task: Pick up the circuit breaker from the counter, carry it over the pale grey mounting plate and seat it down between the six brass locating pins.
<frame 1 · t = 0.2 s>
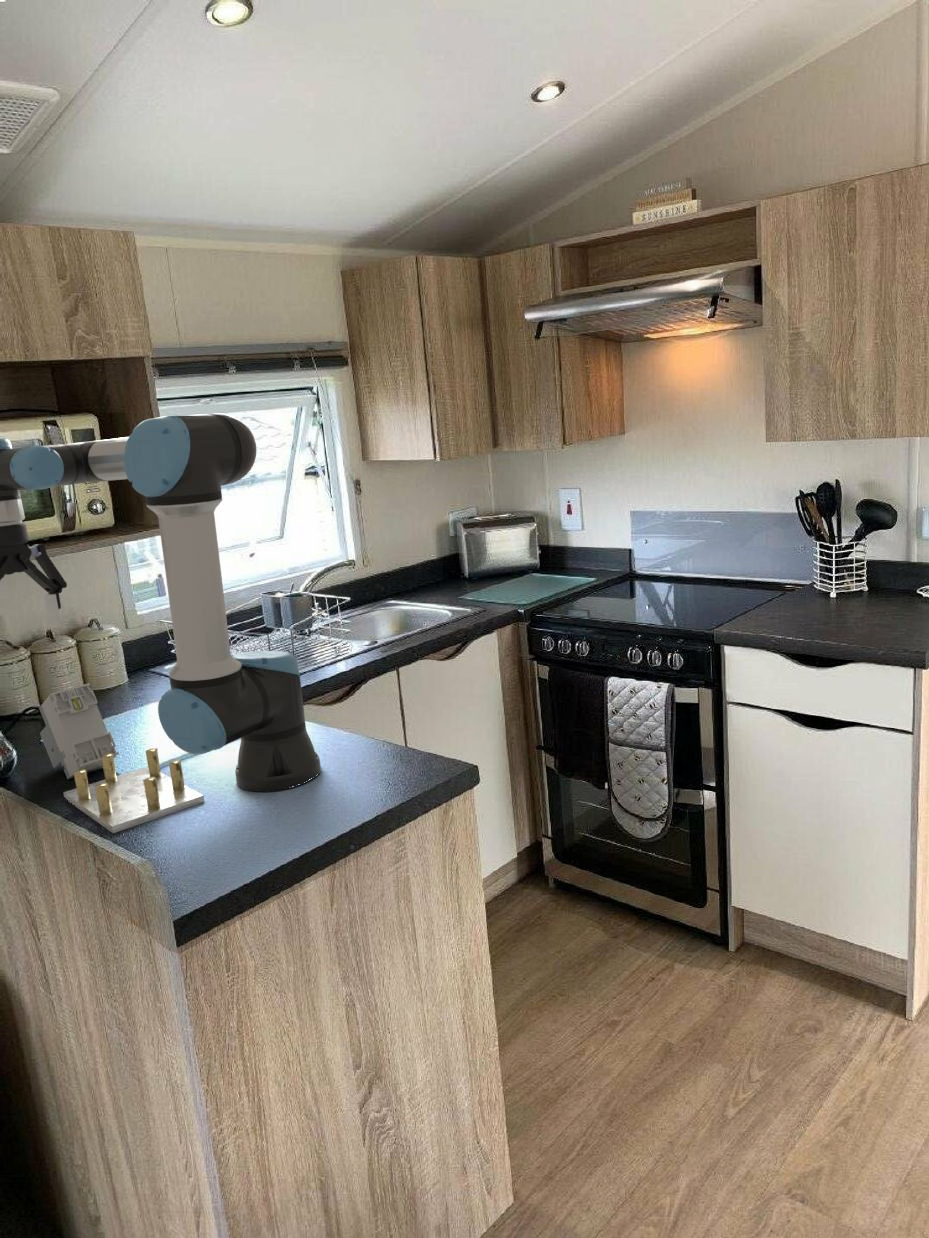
hand: (24, 635, 183), 27 cm above the worktop, tool pointing down, fingers open, 13 cm apart
circuit breaker: (88, 772, 185), on the worktop
mounting plate: (133, 800, 170), on the worktop
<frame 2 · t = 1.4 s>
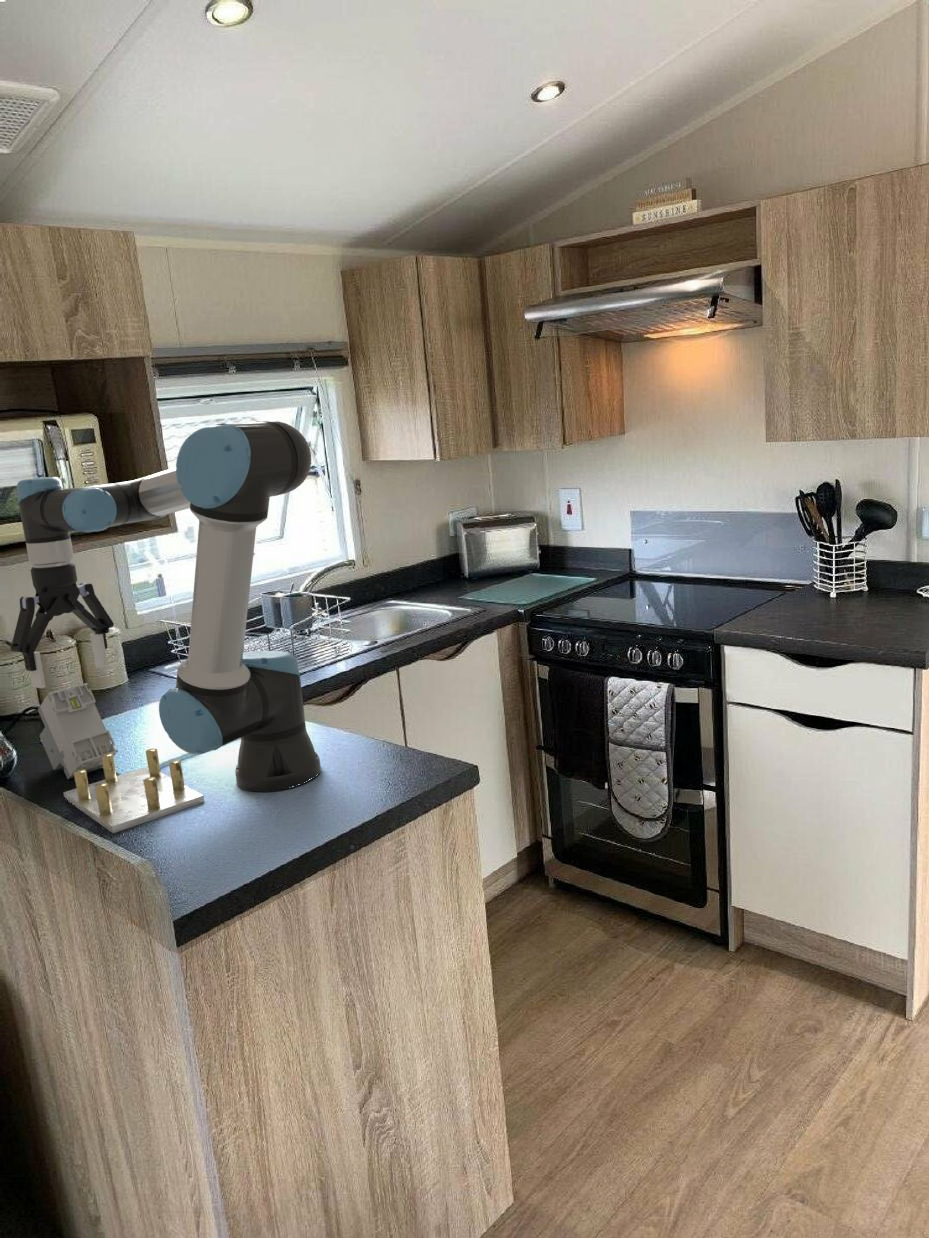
hand: (71, 677, 179), 20 cm above the worktop, tool pointing down, fingers open, 13 cm apart
nothing on the worktop moved.
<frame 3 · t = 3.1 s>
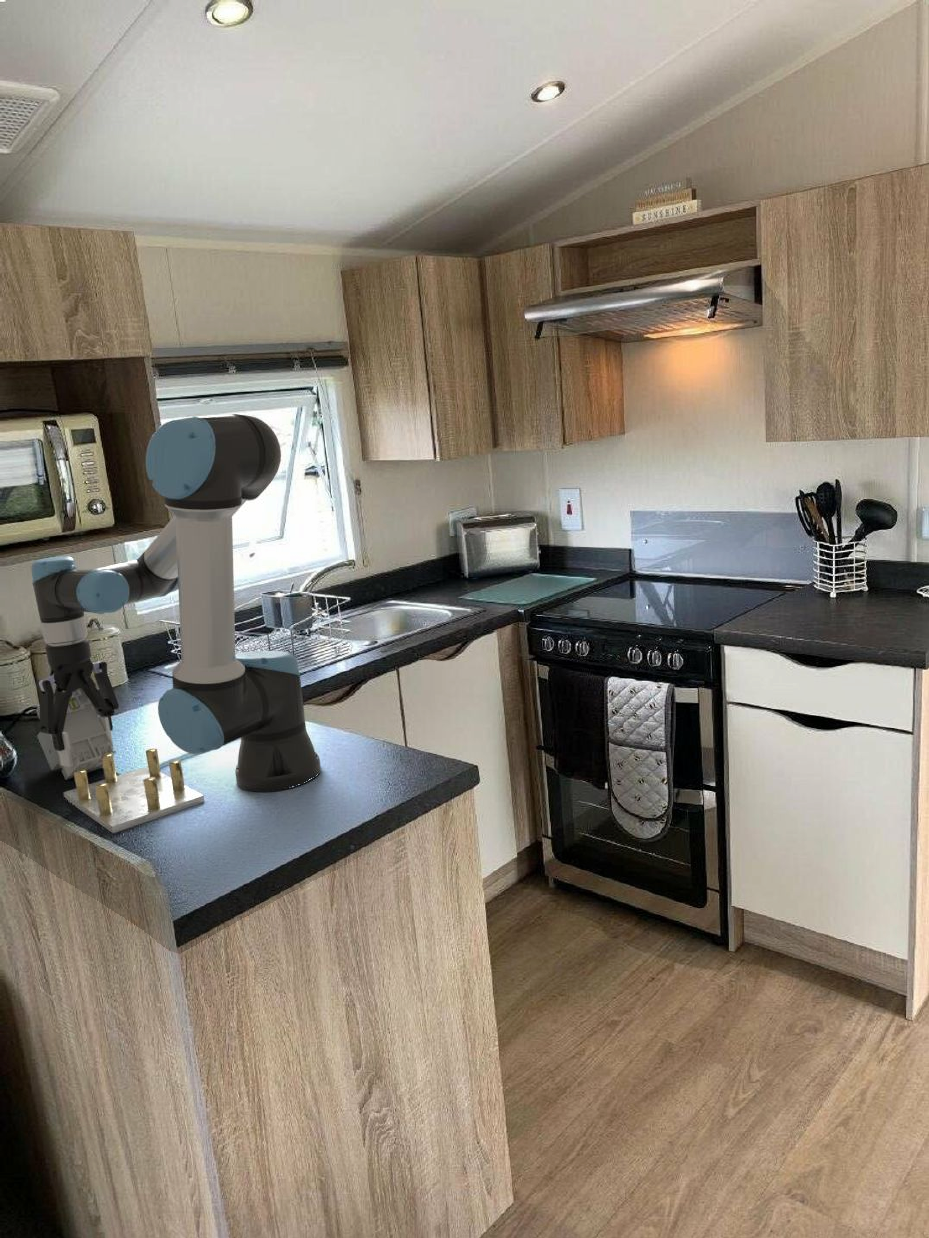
hand: (87, 756, 183), 4 cm above the worktop, tool pointing down, fingers closed on circuit breaker, 8 cm apart
circuit breaker: (86, 772, 185), on the worktop, touching gripper
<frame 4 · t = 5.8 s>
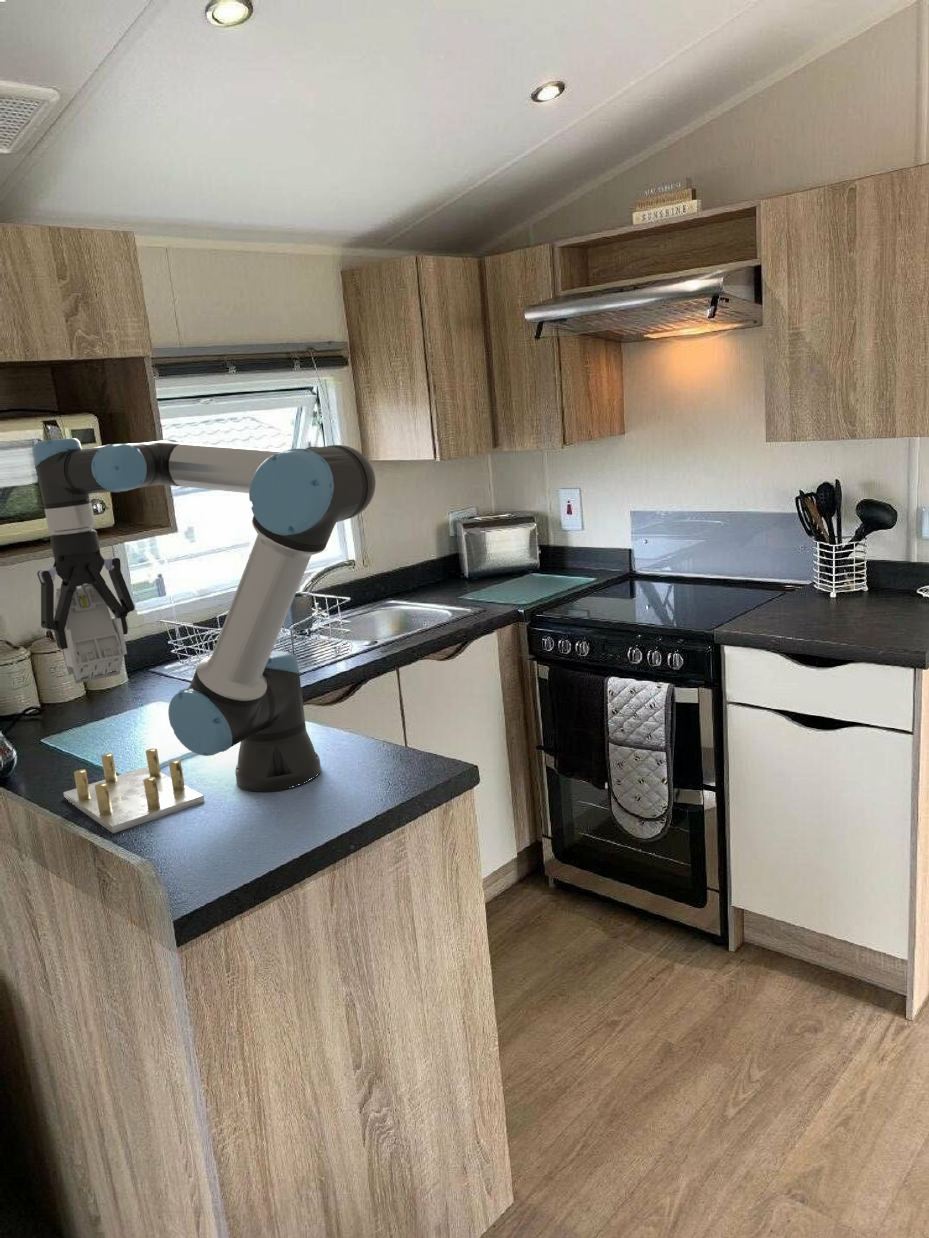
hand: (97, 659, 169), 25 cm above the worktop, tool pointing down, fingers closed on circuit breaker, 8 cm apart
circuit breaker: (98, 677, 171), point 21 cm above the worktop, touching gripper
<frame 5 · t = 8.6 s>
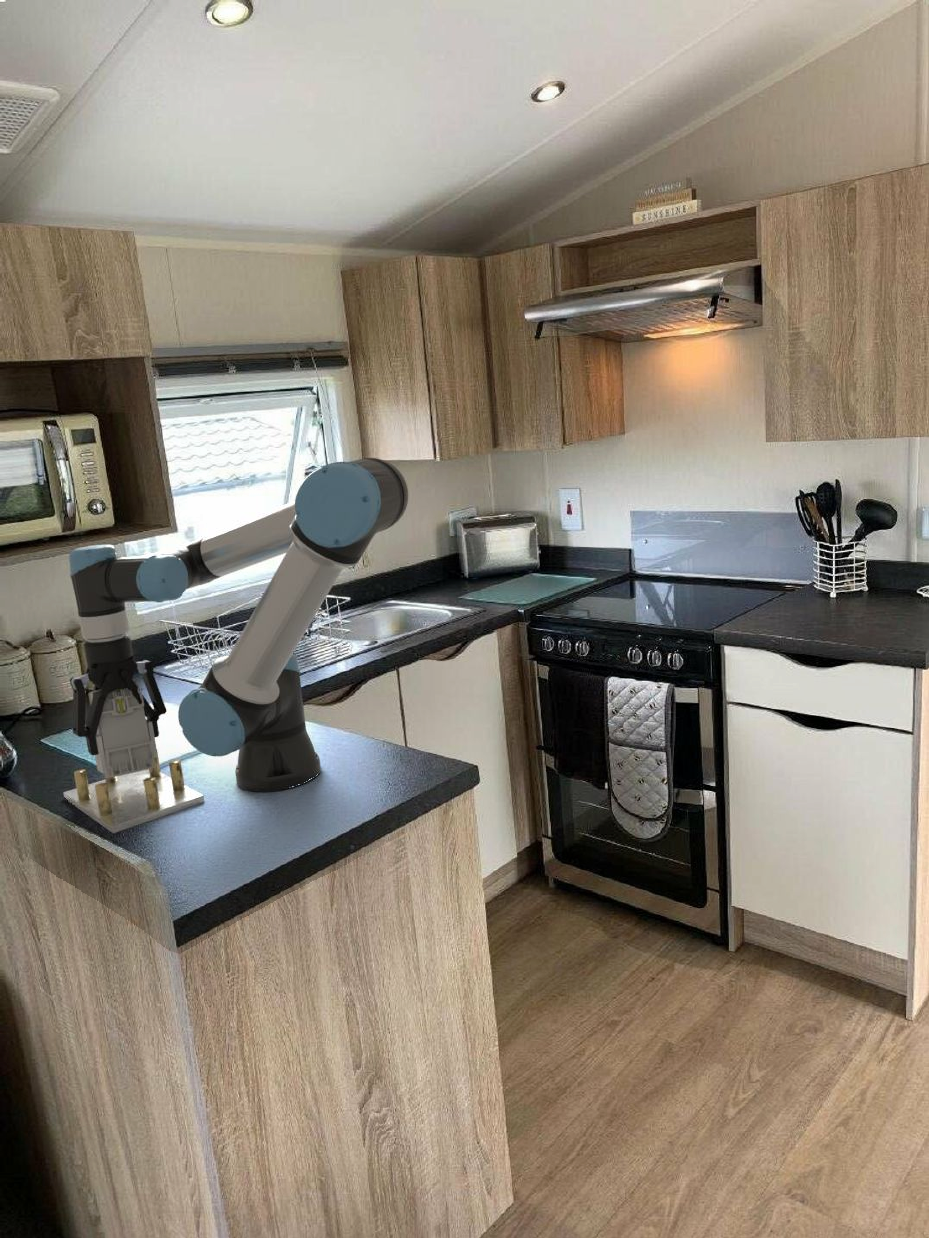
hand: (128, 763, 168), 7 cm above the worktop, tool pointing down, fingers closed on circuit breaker, 8 cm apart
circuit breaker: (126, 773, 171), point 4 cm above the worktop, touching gripper, mounting plate
when the fingers open (7 cm above the worktop, at t = 9.0 s): circuit breaker drops 3 cm, resting on mounting plate.
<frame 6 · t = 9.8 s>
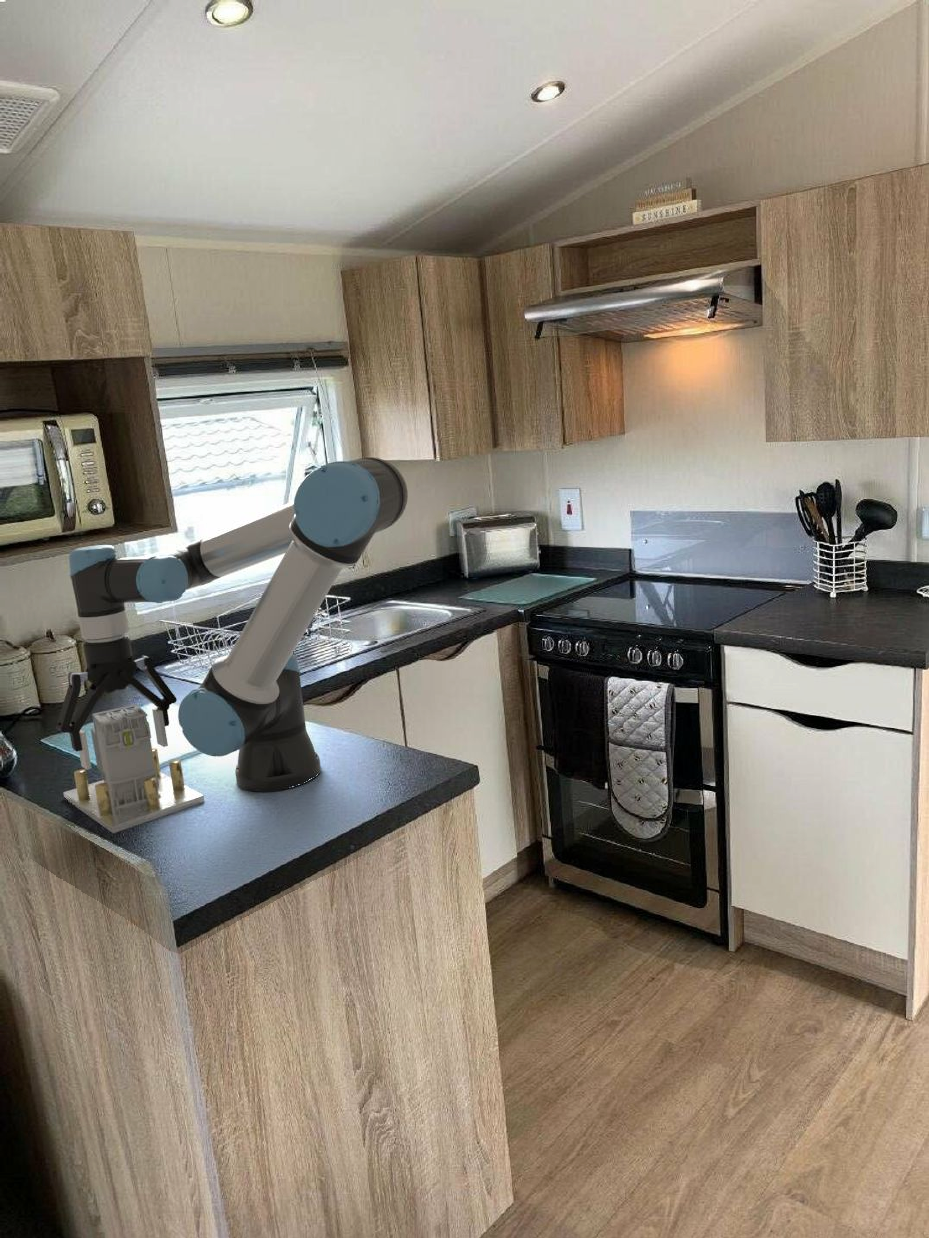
hand: (125, 756, 168), 8 cm above the worktop, tool pointing down, fingers open, 13 cm apart
circuit breaker: (129, 791, 171), point 1 cm above the worktop, touching mounting plate
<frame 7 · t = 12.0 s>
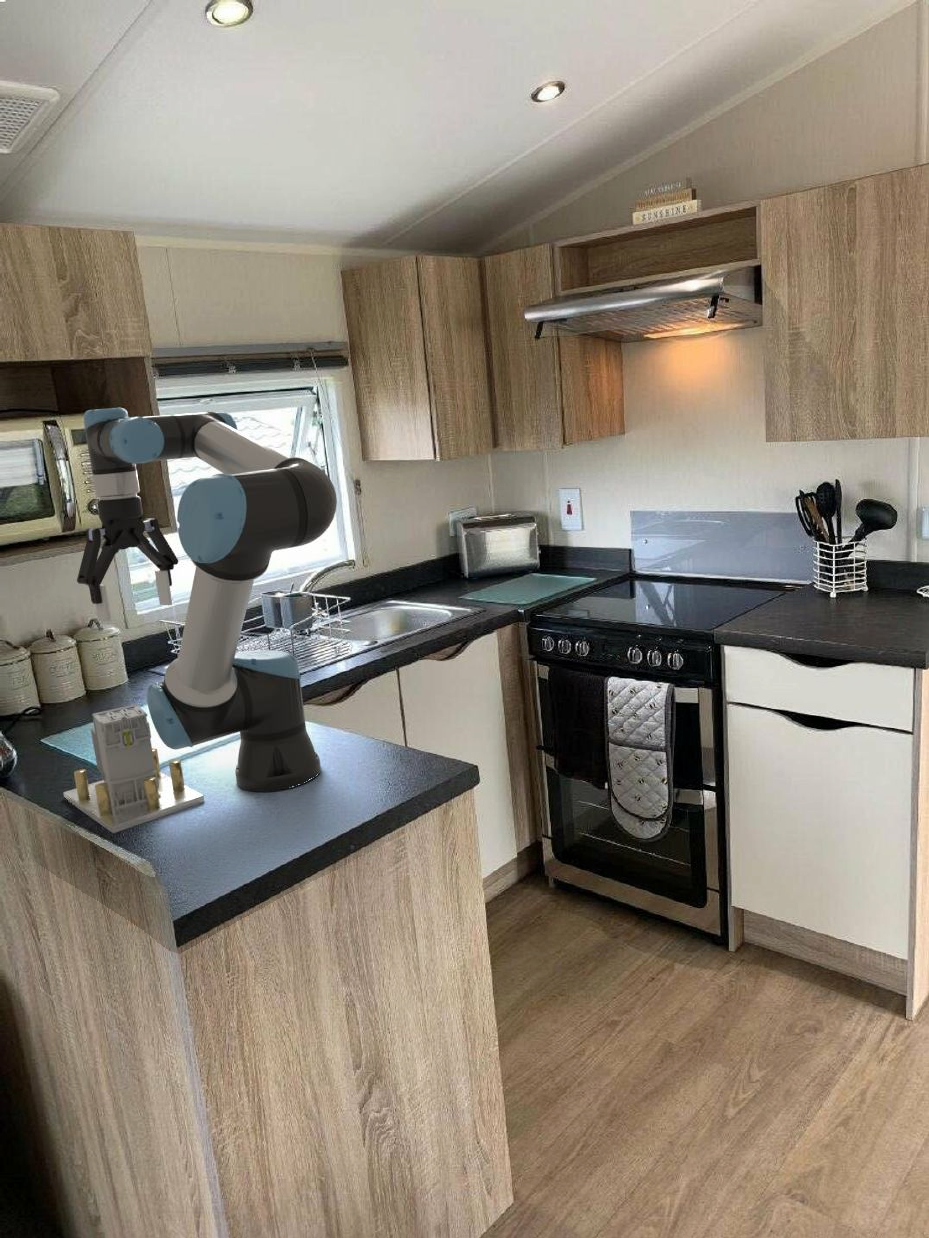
hand: (136, 612, 177), 31 cm above the worktop, tool pointing down, fingers open, 13 cm apart
nothing on the worktop moved.
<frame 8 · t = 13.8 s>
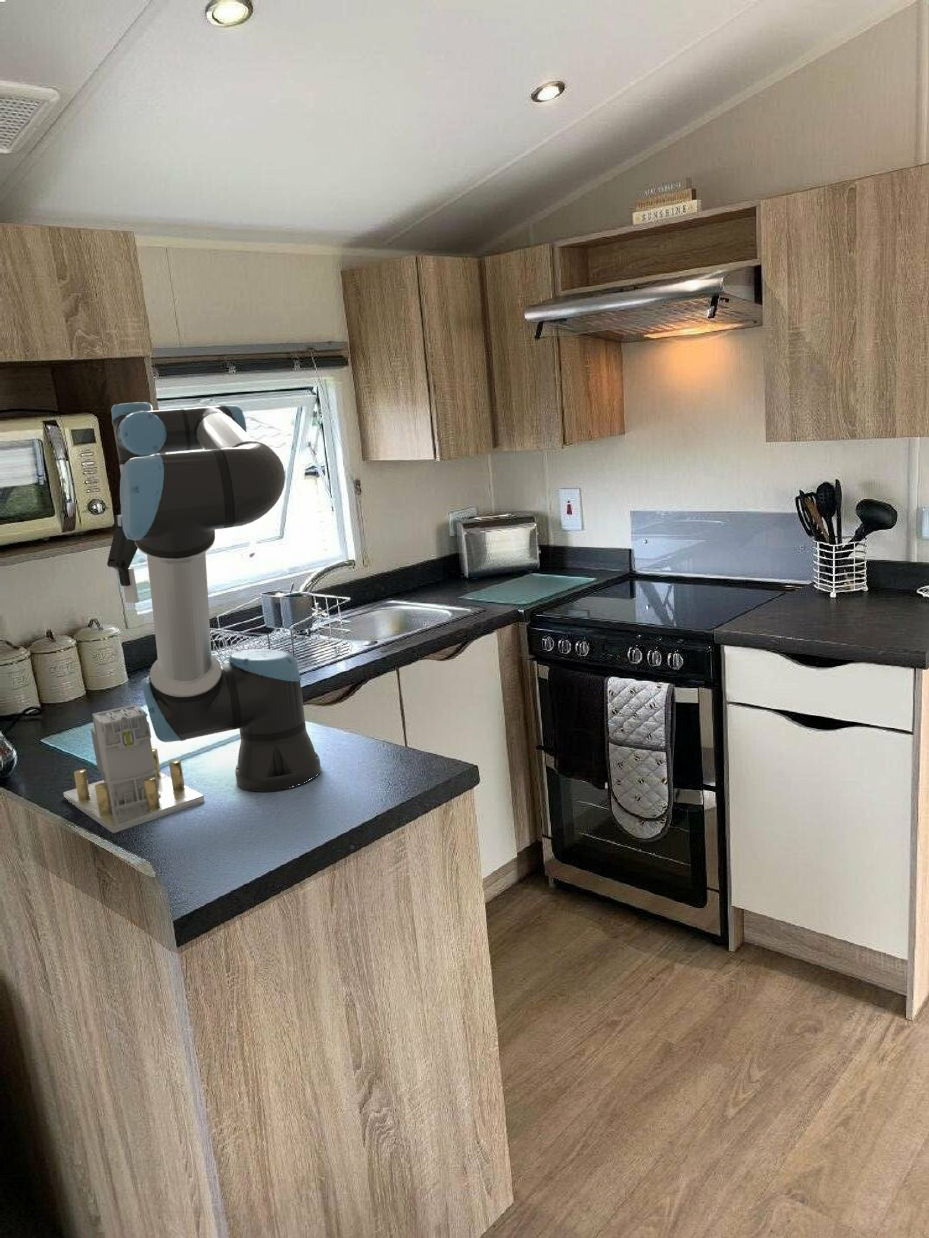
hand: (160, 595, 188), 32 cm above the worktop, tool pointing down, fingers open, 13 cm apart
nothing on the worktop moved.
at the end: circuit breaker 1.8 cm from the mounting plate (horizontally); circuit breaker point 1.0 cm above the worktop; circuit breaker tilted 0° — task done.
